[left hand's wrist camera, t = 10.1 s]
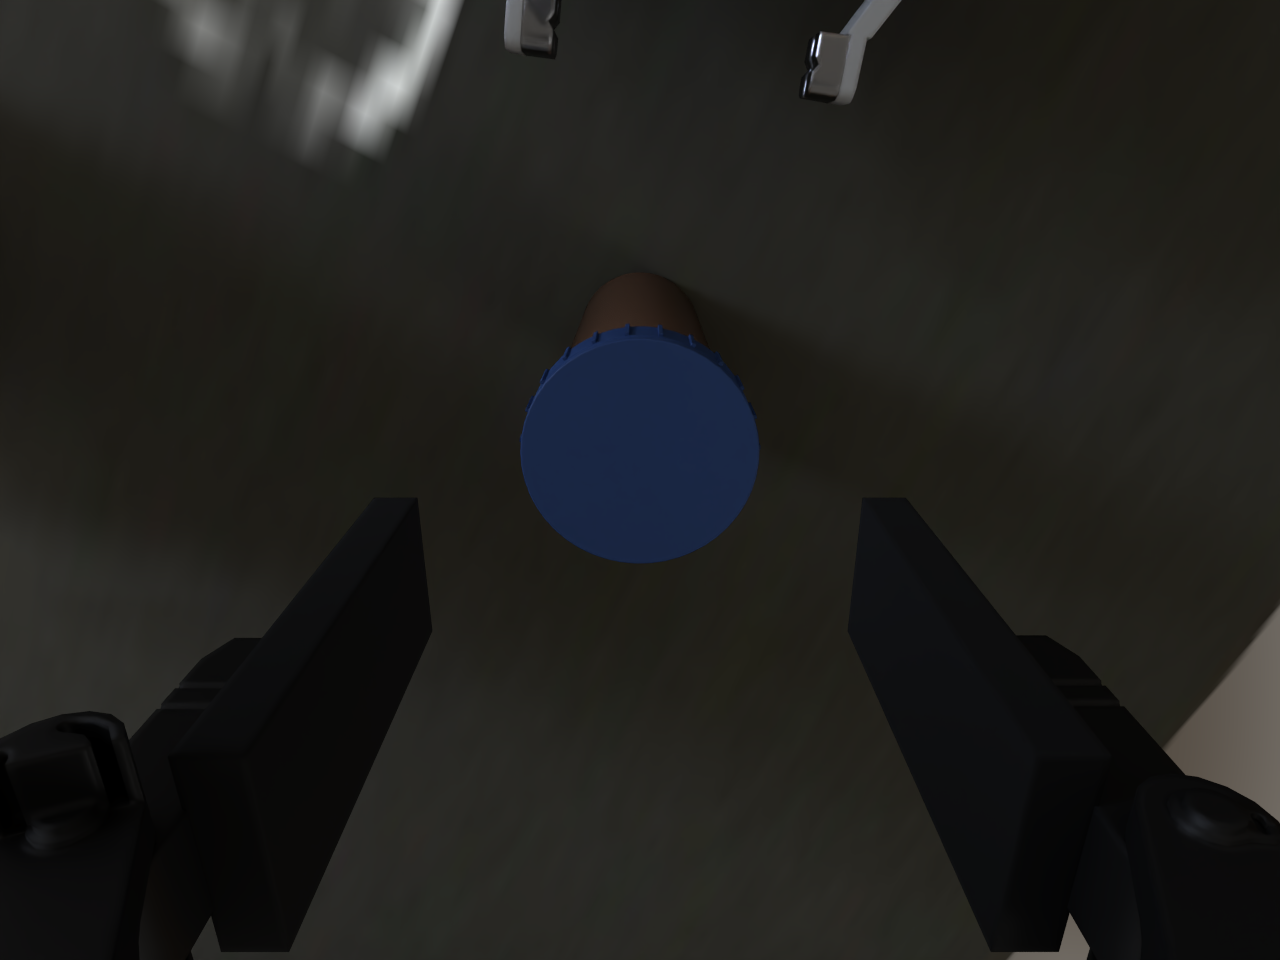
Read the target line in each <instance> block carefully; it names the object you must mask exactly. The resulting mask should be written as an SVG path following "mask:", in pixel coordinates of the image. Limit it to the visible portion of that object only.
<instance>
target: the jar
mask: <svg viewBox="0 0 1280 960" xmlns="http://www.w3.org/2000/svg"><path fill="white" fill-rule="evenodd" d="M625 324H630V327H634V326H647V327H656V328H658V325H662V327H663V329H667V330H671V331H675V332H678V333H680V334H683V335H685V336H689V334H691V335H693V337H694V340H696V341H697V342H699V343H701V344H703V345H704V346H705V347H707V348H708V349H709V346H708V343H707V341H706V338H705V335H704V333H703V330H702V327H701V325H700V322H699V320H698V317H697V314H696V312H695V309H694V307H693V305H692V303H691V301H690V300H689V298H688V297H687V295H686V294H685V293H684V292H683V291H682V290H681V289H680V288H679V287H678V286H677V285H676V284H674V283H673V282H671V281H669V280H668V279H666V278H664V277H661V276H659V275H655V274H651V273H643V272H642V273H629V274H625V275H622V276H619V277H616V278H614V279H612V280H610V281H609V282H607V283H606V284H604V285H603V286H602V287H601V288H600V289H599V290H598V291H597V292H596V293H595V294H594V295H593V297H592V298H591V300H590V301H589V303H588V305H587V307H586V309H585V312H584V314H583V317H582V320H581V322H580V325H579V327H578V330H577V333H576V335H575V338H574V341H573V343H572V346H571V349H572V348H573V347H574V346H576V345H578V344H579V343H581V342H583V341H584V340H586V339H588V338H590V337H593V334H594V332H596V331H598V333H602V332H606V331H609V330H613V329H617V328H624V327H625ZM709 350H710V349H709Z"/></svg>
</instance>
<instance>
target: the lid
mask: <svg viewBox="0 0 1280 960" xmlns="http://www.w3.org/2000/svg"><path fill="white" fill-rule="evenodd" d="M540 383H541V385H540V387H539V389H538V391H537V393H536V395H535V396H532V397H531V399H530V401H529V403H528V405H527V407H526V410H525V411H526V412H528V413H527V416H526V419H525V422H524V426H523V431H522V435H521V437H520V442H521V452H520V453H521V465H522V471H523V475H524V479H525V483H526V486H527V488H528V491H529V494H530V496H531V498H532V500H533V501H534V503H535V505H536V507H537V509H538V510H539V511H540V513H541V514H542V516H543V517H544V518H545V520H546V521H547V522H548V523H549V524H550V525H551V526H552V527H553V528H554V529H555V530H556V531H557V532H558V533H559V534H560V535H562V536H563V537H564V538H565V539H566V540H568V541H569V542H571V543H572V544H574V545H576V546H577V547H579V548H581V549H583V550H585V551H587V552H589V553H591V554H593V555H596V556H599V557H602V558H605V559H609V560H614V561H618V562H626V563H654V562H662V561H667V560H671V559H674V558H678V557H681V556H684V555H686V554H689V553H691V552H693V551H695V550H697V549H699V548H701V547H703V546H705V545H706V544H708V543H709V542H710V541H712V540H713V539H715V538H716V537H717V536H719V535H720V534H721V533H722V532H723V531H724V530H725V529H726V528H727V527H728V526H729V525H730V524H731V523H732V522H733V521H734V519H735V518H736V517H737V516H738V514H739V513H740V511H741V510H742V508H743V507H744V505H745V504H746V502H747V500H748V497H749V495H750V493H751V491H752V488H753V485H754V482H755V479H756V476H757V470H758V464H759V449H760V444H759V438H758V431H757V427H756V423H755V419H757V417H756V414H755V412H754V409H753V407H752V405H751V403H748V401H747V399H746V397H745V395H744V393H743V391H742V390H744V387H743V384H742V382H741V380H740V378H739V376H738V375H736V376H734V374H733V373H732V372H731V371H730V369H729V368H728V367H727V365H726V364H725V363H724V362H723V361H722V358H721V356H720V354H719V353H718V352H717V351H716V352H715V353H713V352H712V351H711V350H709V349H708V348H707V347H705V346H704V345H703V344H701V343H699V342H697V341H696V340H694V337H693V335H691V334H689V336H685V335H683V334H680V333H678V332H675V331H671V330H667V329H663V327H662V325H658V328H656V327H647V326H634V327H630V324H625V327H624V328H617V329H613V330H609V331H606V332H602V333H598V331H596V332H594V334H593V337H590V338H588V339H586V340H584V341H583V342H581V343H579V344H578V345H576V346H574V347H573V348H572V349H571V348H570V347H568V348H566V350H565V353H564V355H563V356H562V357H561V358H560V359H559V360H558V361H557V362H556V363H555V364H554V365H553V367H552V368H551V369H550V371H549V370H548V369H546V370H545V372H544V374H543V376H542V378H541V380H540Z"/></svg>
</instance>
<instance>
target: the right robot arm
mask: <svg viewBox="0 0 1280 960" xmlns="http://www.w3.org/2000/svg"><path fill="white" fill-rule="evenodd" d="M561 1H562V0H506V15H505V30H504V40H505V49H506V50H508V51H509V52H510V53H513V54H520V55H526V56H533V57H540V58H547V59H555V58H556V55H557V46H558V37H557V35H556V33H555V31H554V30H555V28H556V27H557V26H558V24H559V23H560V13H561ZM900 2H901V0H865V1H864V2H863V3H862V5H861V6H860V7H859V9H858V10H857V11H856V13H855V14H854V15H853V17H852V18H851V19H850V20H849V22H848V23H847V24H846V26H845V27H844V28H843V30H842V31H841V32H840V34H837V33H830V32H822V31H820V32H819V33H817V34H816V37H812V38H811V39H809V42H808V47H807V52H806V57H805V65H806V68H807V70H808V71H807V72H806V73H805V74H804V75H803V77H802V78H801V83H800V89H799V98H801V99H806V100H812V101H817V102H823V103H828V104H835V105H846V104H849V103H851V101H852V99H853V96H854V93H855V91H856V88H857V83H858V78H859V74H860V69H861V65H862V60H863V56H864V51H865V46H866V42H867V40H869V39H871V38H872V37H873V36H874V34H875V33H876V32H877V31H878V29H879V28H880V27H881V26H882V24H883V23H884V22H885V20H886V19H887V18H888V17H889V15H890V14H891V13H892V12H893V10H894V9H895V8H896V7H897V5H898V4H899V3H900Z"/></svg>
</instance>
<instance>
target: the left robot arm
mask: <svg viewBox="0 0 1280 960" xmlns="http://www.w3.org/2000/svg"><path fill="white" fill-rule="evenodd" d="M431 633H432V624H431V615H430V606H429V597H428V588H427V579H426V571H425V562H424V553H423V544H422V535H421V526H420V517H419V508H418V500H417V498H374V499H373V500H372V501H371V503H370V504H369V505H368V506H367V508H366V509H365V510H364V511H363V513H362V514H361V515H360V516H359V518H358V519H357V520H356V521H355V523H354V524H353V525H352V526H351V528H350V529H349V530H348V531H347V533H346V534H345V535H344V536H343V538H342V539H341V540H340V541H339V543H338V544H337V545H336V546H335V548H334V549H333V550H332V551H331V553H330V554H329V555H328V556H327V558H326V559H325V560H324V561H323V563H322V564H321V565H320V566H319V568H318V569H317V570H316V571H315V573H314V574H313V575H312V576H311V578H310V579H309V580H308V581H307V583H306V584H305V585H304V586H303V588H302V589H301V590H300V591H299V593H298V594H297V595H296V596H295V598H294V599H293V600H292V601H291V603H290V604H289V605H288V606H287V608H286V609H285V610H284V611H283V613H282V614H281V615H280V616H279V618H278V619H277V620H276V621H275V623H274V624H273V625H272V626H271V628H270V629H269V630H268V631H267V633H266V634H265V635H264V636H263V638H234V639H232V640H231V641H229V642H227V643H226V644H224V645H223V646H221V647H220V648H218V649H216V650H215V651H213V652H212V653H210V654H208V655H207V656H205V657H204V658H202V659H201V660H200V661H199V662H198V663H197V664H196V666H195V667H194V668H193V669H192V670H191V671H190V672H189V673H188V675H187V676H186V677H185V678H184V679H183V680H182V681H181V682H180V686H179V688H175V689H174V690H173V691H172V693H171V694H170V695H169V696H168V697H167V698H166V699H165V700H164V702H163V703H162V704H161V709H156V711H155V712H154V713H153V714H152V715H151V716H150V717H149V718H148V720H147V721H146V722H145V723H144V724H143V725H142V726H141V727H140V729H139V730H138V731H137V732H136V733H135V734H134V735H133V736H132V738H131V739H130V740H129V739H128V736H127V733H126V729H125V726H124V723H123V722H121V721H120V720H119V719H117V718H116V717H114V716H113V715H112V714H106V713H99V712H92V711H87V712H79V713H70V714H62V715H59V716H55V717H52V718H49V719H45V720H42V721H39V722H35V723H32V724H30V725H27V726H25V727H23V728H21V729H19V730H17V731H15V732H13V733H11V734H9V735H7V736H4V737H2V738H1V739H0V960H193V957H192V953H191V949H192V947H193V946H194V944H195V942H196V940H197V939H198V937H199V935H200V933H201V932H202V930H203V928H204V926H205V925H206V923H207V921H208V919H209V918H210V916H211V917H212V920H213V924H214V927H215V931H216V935H217V938H218V942H219V946H220V949H221V952H289V951H290V948H291V946H292V944H293V942H294V940H295V937H296V935H297V933H298V931H299V928H300V926H301V924H302V922H303V919H304V917H305V915H306V913H307V910H308V908H309V906H310V904H311V901H312V899H313V897H314V895H315V892H316V890H317V888H318V886H319V884H320V881H321V879H322V877H323V875H324V872H325V870H326V868H327V866H328V863H329V861H330V859H331V857H332V854H333V852H334V850H335V848H336V845H337V843H338V841H339V839H340V837H341V834H342V832H343V830H344V828H345V825H346V823H347V821H348V819H349V816H350V814H351V812H352V810H353V807H354V805H355V803H356V801H357V798H358V796H359V794H360V792H361V789H362V787H363V785H364V783H365V781H366V778H367V776H368V774H369V772H370V769H371V767H372V765H373V763H374V760H375V758H376V756H377V754H378V751H379V749H380V747H381V745H382V742H383V740H384V738H385V736H386V733H387V731H388V729H389V727H390V725H391V722H392V720H393V718H394V716H395V713H396V711H397V709H398V707H399V704H400V702H401V700H402V698H403V695H404V693H405V691H406V689H407V686H408V684H409V682H410V680H411V677H412V675H413V673H414V671H415V669H416V666H417V664H418V662H419V660H420V657H421V655H422V653H423V651H424V648H425V646H426V644H427V642H428V639H429V637H430V635H431ZM848 633H849V635H850V637H851V639H852V642H853V644H854V646H855V648H856V651H857V653H858V655H859V657H860V660H861V662H862V664H863V666H864V669H865V671H866V673H867V675H868V677H869V680H870V682H871V684H872V686H873V689H874V691H875V693H876V695H877V698H878V700H879V702H880V704H881V707H882V709H883V711H884V713H885V716H886V718H887V720H888V722H889V725H890V727H891V729H892V731H893V733H894V736H895V738H896V740H897V742H898V745H899V747H900V749H901V751H902V754H903V756H904V758H905V760H906V763H907V765H908V767H909V769H910V772H911V774H912V776H913V778H914V781H915V783H916V785H917V787H918V789H919V792H920V794H921V796H922V798H923V801H924V803H925V805H926V807H927V810H928V812H929V814H930V816H931V819H932V821H933V823H934V825H935V828H936V830H937V832H938V834H939V837H940V839H941V841H942V843H943V845H944V848H945V850H946V852H947V854H948V857H949V859H950V861H951V863H952V866H953V868H954V870H955V872H956V875H957V877H958V879H959V881H960V884H961V886H962V888H963V890H964V893H965V895H966V897H967V899H968V901H969V904H970V906H971V908H972V910H973V913H974V915H975V917H976V919H977V922H978V924H979V926H980V928H981V931H982V933H983V935H984V937H985V940H986V942H987V944H988V946H989V949H990V951H991V952H1059V949H1060V946H1061V942H1062V938H1063V935H1064V931H1065V927H1066V923H1067V920H1068V916H1069V913H1070V914H1071V915H1072V917H1073V919H1074V921H1075V922H1076V924H1077V926H1078V928H1079V929H1080V931H1081V933H1082V935H1083V936H1084V938H1085V940H1086V941H1087V943H1088V945H1089V947H1090V950H1089V953H1088V957H1087V960H1280V823H1279V822H1278V821H1277V820H1276V819H1275V818H1274V817H1273V816H1271V815H1270V814H1269V813H1268V812H1266V811H1265V810H1264V809H1263V808H1262V807H1260V806H1259V805H1258V804H1257V803H1255V802H1254V801H1252V800H1250V799H1248V798H1247V797H1245V796H1243V795H1241V794H1239V793H1237V792H1236V791H1234V790H1232V789H1230V788H1228V787H1226V786H1223V785H1220V784H1217V783H1214V782H1211V781H1208V780H1205V779H1202V778H1199V777H1194V776H1187V775H1185V774H1184V773H1183V772H1182V771H1181V769H1180V768H1179V767H1178V766H1177V765H1176V764H1175V763H1174V762H1173V761H1172V759H1171V758H1170V757H1169V756H1168V755H1167V754H1166V753H1165V752H1164V751H1163V749H1162V748H1161V747H1160V746H1159V745H1158V744H1157V743H1156V742H1155V740H1154V739H1153V738H1152V737H1151V736H1150V735H1149V734H1148V733H1147V732H1146V730H1145V729H1144V728H1143V727H1142V726H1141V725H1140V724H1139V723H1138V721H1137V720H1136V719H1135V718H1134V717H1133V716H1132V715H1131V714H1130V713H1129V711H1128V710H1127V709H1126V708H1125V707H1124V706H1120V704H1119V700H1118V699H1117V698H1116V697H1115V696H1114V695H1113V694H1112V692H1111V691H1110V690H1109V689H1108V688H1107V687H1106V686H1102V685H1101V680H1100V679H1099V678H1098V677H1097V676H1096V675H1095V673H1094V672H1093V671H1092V670H1091V669H1090V668H1089V667H1088V666H1087V664H1086V663H1085V662H1084V661H1083V660H1082V659H1081V658H1080V657H1079V656H1078V655H1076V654H1075V653H1073V652H1071V651H1070V650H1068V649H1067V648H1065V647H1063V646H1062V645H1060V644H1059V643H1057V642H1056V641H1054V640H1052V639H1051V638H1049V637H1048V636H1016V635H1015V634H1014V633H1013V631H1012V630H1011V629H1010V628H1009V626H1008V625H1007V624H1006V623H1005V621H1004V620H1003V619H1002V618H1001V616H1000V615H999V614H998V613H997V611H996V610H995V609H994V608H993V606H992V605H991V604H990V603H989V601H988V600H987V599H986V598H985V596H984V595H983V594H982V593H981V591H980V590H979V589H978V588H977V586H976V585H975V584H974V583H973V581H972V580H971V579H970V578H969V576H968V575H967V574H966V573H965V571H964V570H963V569H962V568H961V566H960V565H959V564H958V563H957V561H956V560H955V559H954V558H953V556H952V555H951V554H950V553H949V551H948V550H947V549H946V548H945V546H944V545H943V544H942V543H941V541H940V540H939V539H938V538H937V536H936V535H935V534H934V533H933V531H932V530H931V529H930V528H929V526H928V525H927V524H926V523H925V521H924V520H923V519H922V518H921V516H920V515H919V514H918V513H917V511H916V510H915V509H914V508H913V506H912V505H911V504H910V503H909V501H908V500H907V499H906V498H863V499H862V508H861V517H860V526H859V535H858V544H857V553H856V562H855V571H854V579H853V588H852V597H851V606H850V615H849V624H848Z"/></svg>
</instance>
